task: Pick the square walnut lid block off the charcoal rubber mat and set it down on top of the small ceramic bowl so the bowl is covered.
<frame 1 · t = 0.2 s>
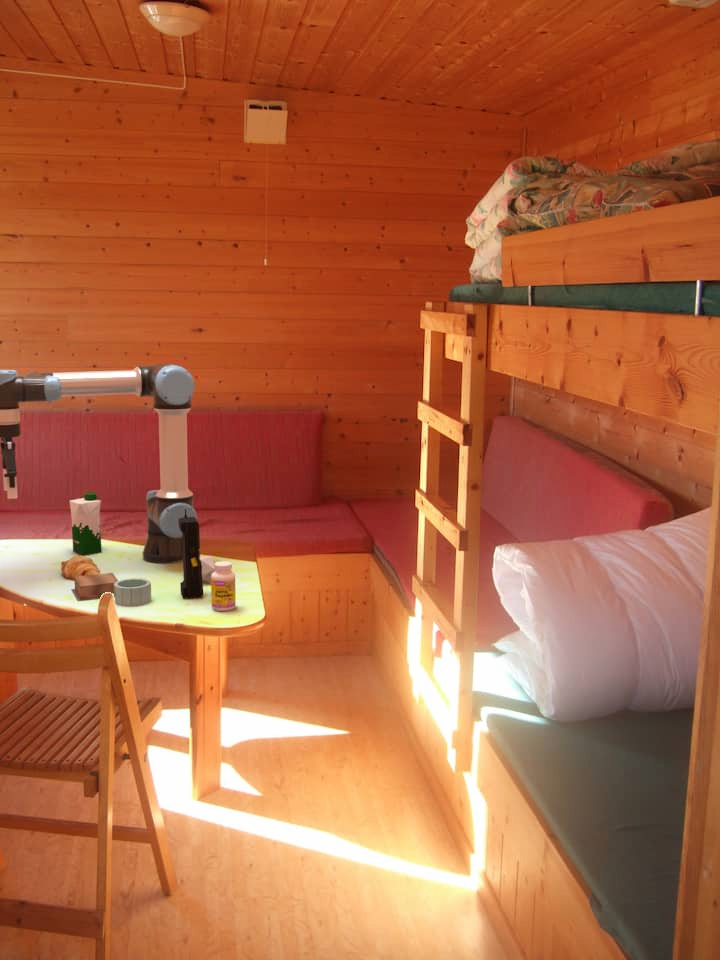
hand: (10, 494, 290), 28 cm above the table, tool pointing down, fingers open, 13 cm apart
portable radio: (192, 596, 285), on the table
croissant: (80, 578, 303), on the table
cover: (97, 592, 286), resting on mat
supplement bottle: (223, 608, 273), on the table
mat: (97, 593, 286), on the table
milk carton: (87, 552, 334), on the table
die: (204, 582, 299), on the table
bowl: (132, 601, 279), on the table
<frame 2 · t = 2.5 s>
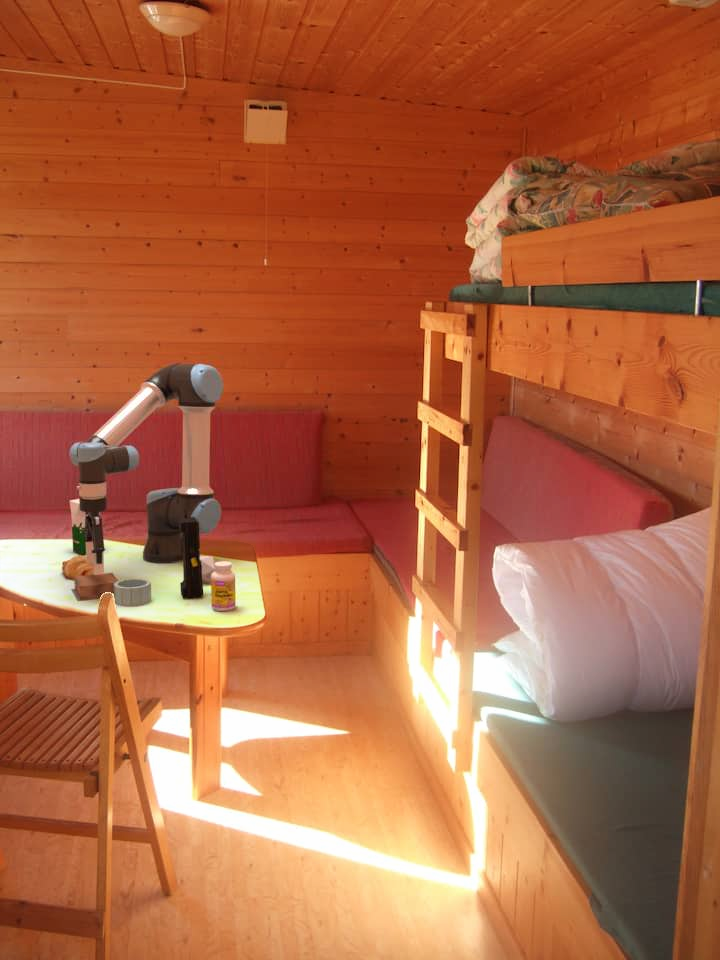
hand: (95, 568, 285), 8 cm above the table, tool pointing down, fingers open, 13 cm apart
nothing on the table moved.
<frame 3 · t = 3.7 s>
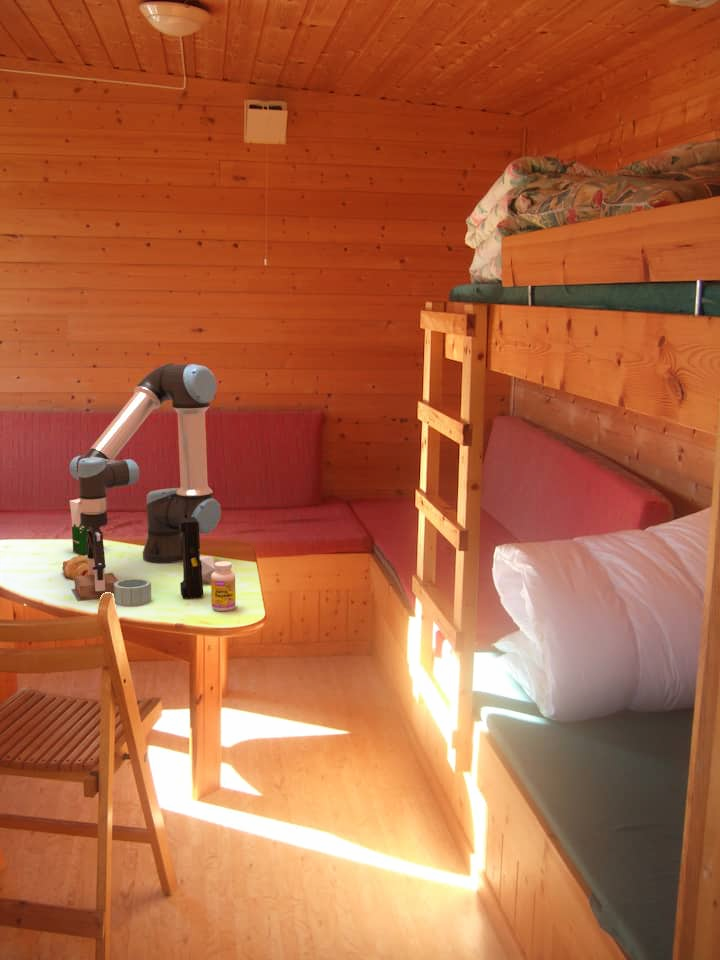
hand: (96, 585, 286), 3 cm above the table, tool pointing down, fingers closed on cover, 11 cm apart
cover: (97, 592, 286), resting on mat, touching gripper
everything else where it was.
when the fingers open (9 cm above the table, at t = 8.3 s): cover drops 2 cm, resting on bowl.
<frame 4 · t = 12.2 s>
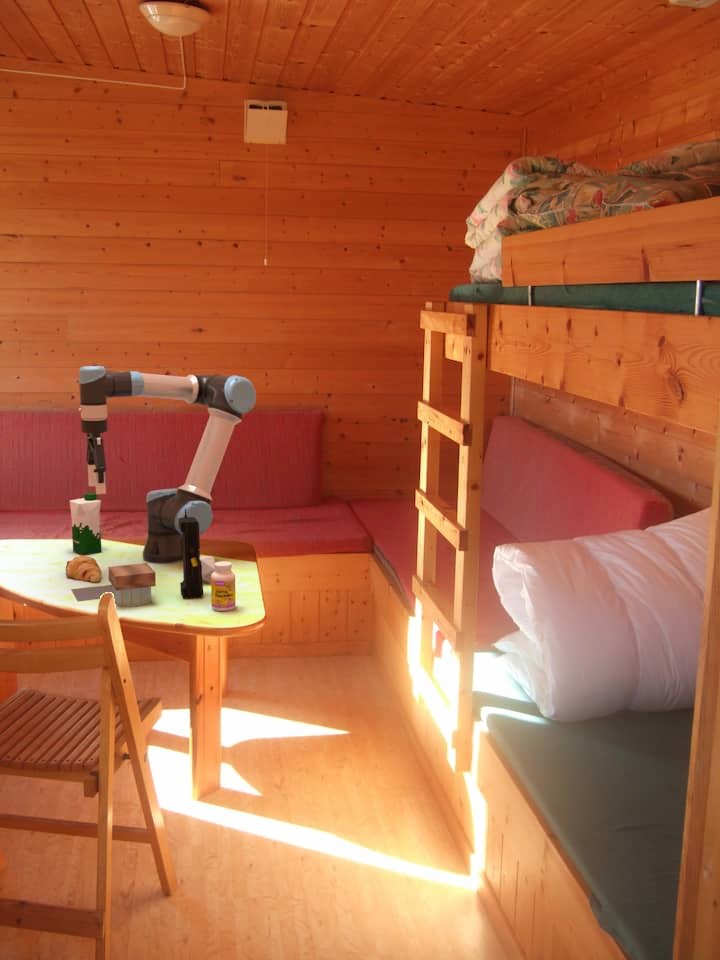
hand: (97, 489, 292), 29 cm above the table, tool pointing down, fingers open, 13 cm apart
cover: (132, 583, 278), point 5 cm above the table, touching bowl
at the end: cover 0.1 cm off-centre on the bowl, point 5.4 cm above the bowl's base; cover tilted 0°; the gripper is holding nothing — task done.
